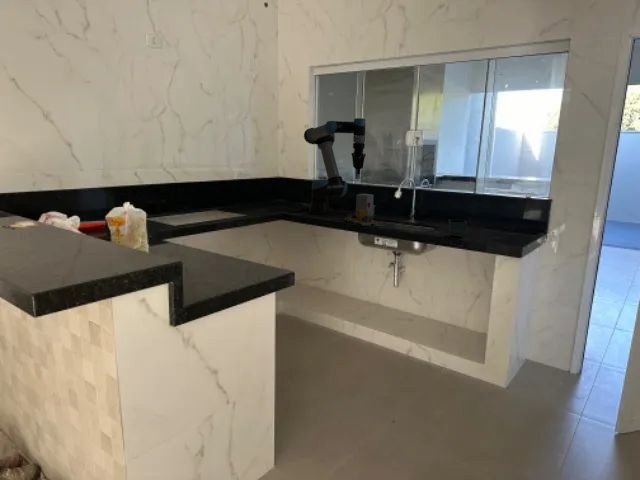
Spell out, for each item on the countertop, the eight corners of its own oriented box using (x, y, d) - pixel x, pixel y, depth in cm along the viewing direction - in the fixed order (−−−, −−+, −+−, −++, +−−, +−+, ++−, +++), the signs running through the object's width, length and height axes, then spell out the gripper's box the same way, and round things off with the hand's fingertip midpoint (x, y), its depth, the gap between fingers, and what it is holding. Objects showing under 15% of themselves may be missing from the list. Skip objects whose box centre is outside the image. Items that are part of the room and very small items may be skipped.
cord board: (344, 220, 297) (344, 212, 296) (359, 218, 303) (359, 211, 302) (363, 225, 280) (363, 217, 279) (378, 224, 286) (378, 216, 285)
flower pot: (446, 234, 261) (448, 219, 259) (462, 235, 260) (464, 219, 258) (449, 237, 252) (450, 222, 250) (465, 238, 251) (467, 222, 249)
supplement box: (366, 217, 308) (367, 195, 305) (355, 215, 314) (356, 194, 310) (373, 215, 316) (374, 194, 312) (362, 214, 321) (363, 193, 317)
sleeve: (356, 219, 291) (356, 210, 289) (363, 218, 294) (364, 209, 292) (359, 220, 288) (360, 211, 286) (367, 219, 291) (367, 210, 289)
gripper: (348, 142, 298) (347, 178, 304) (360, 142, 287) (358, 180, 293) (357, 142, 302) (356, 177, 307) (369, 143, 291) (367, 179, 297)
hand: (357, 178), depth 300 cm, fingers closed
